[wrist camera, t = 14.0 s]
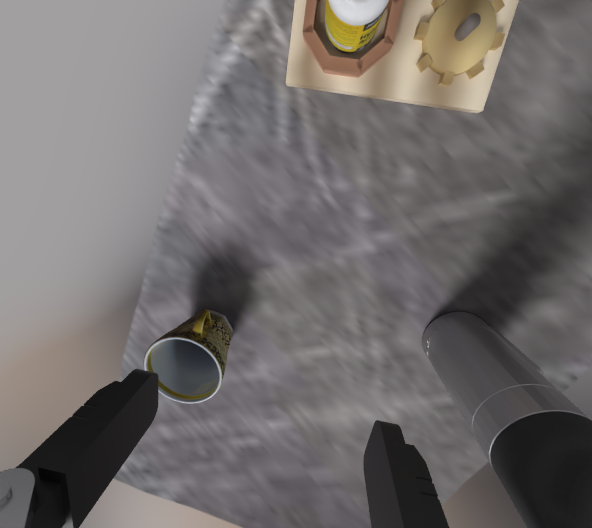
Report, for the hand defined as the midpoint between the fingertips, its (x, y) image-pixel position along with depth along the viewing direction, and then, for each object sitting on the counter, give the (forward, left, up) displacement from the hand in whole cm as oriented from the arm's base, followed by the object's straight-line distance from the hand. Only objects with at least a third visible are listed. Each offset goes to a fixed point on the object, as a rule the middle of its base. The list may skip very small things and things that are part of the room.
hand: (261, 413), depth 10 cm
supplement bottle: (-1, -23, -28) cm, 37 cm away
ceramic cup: (+12, +16, -29) cm, 35 cm away
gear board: (-6, -23, -29) cm, 38 cm away
